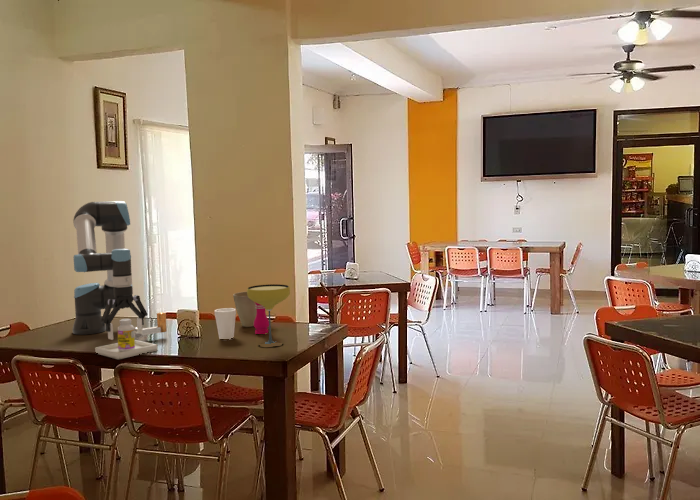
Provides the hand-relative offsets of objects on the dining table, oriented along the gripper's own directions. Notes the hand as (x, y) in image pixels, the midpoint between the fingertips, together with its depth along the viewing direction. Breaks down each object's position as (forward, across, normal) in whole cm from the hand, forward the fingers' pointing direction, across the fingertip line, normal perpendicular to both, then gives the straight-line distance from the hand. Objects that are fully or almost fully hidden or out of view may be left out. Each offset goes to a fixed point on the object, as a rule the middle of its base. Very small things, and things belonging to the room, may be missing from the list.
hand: (125, 336), depth 276 cm
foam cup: (+7, +41, -15) cm, 44 cm away
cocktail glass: (+7, +43, -42) cm, 61 cm away
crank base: (+7, +13, +13) cm, 20 cm away
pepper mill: (+7, +57, -21) cm, 61 cm away
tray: (+7, 0, 0) cm, 7 cm away
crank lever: (+4, +19, +12) cm, 23 cm away
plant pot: (+7, +67, -1) cm, 67 cm away
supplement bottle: (+6, 0, 0) cm, 6 cm away
